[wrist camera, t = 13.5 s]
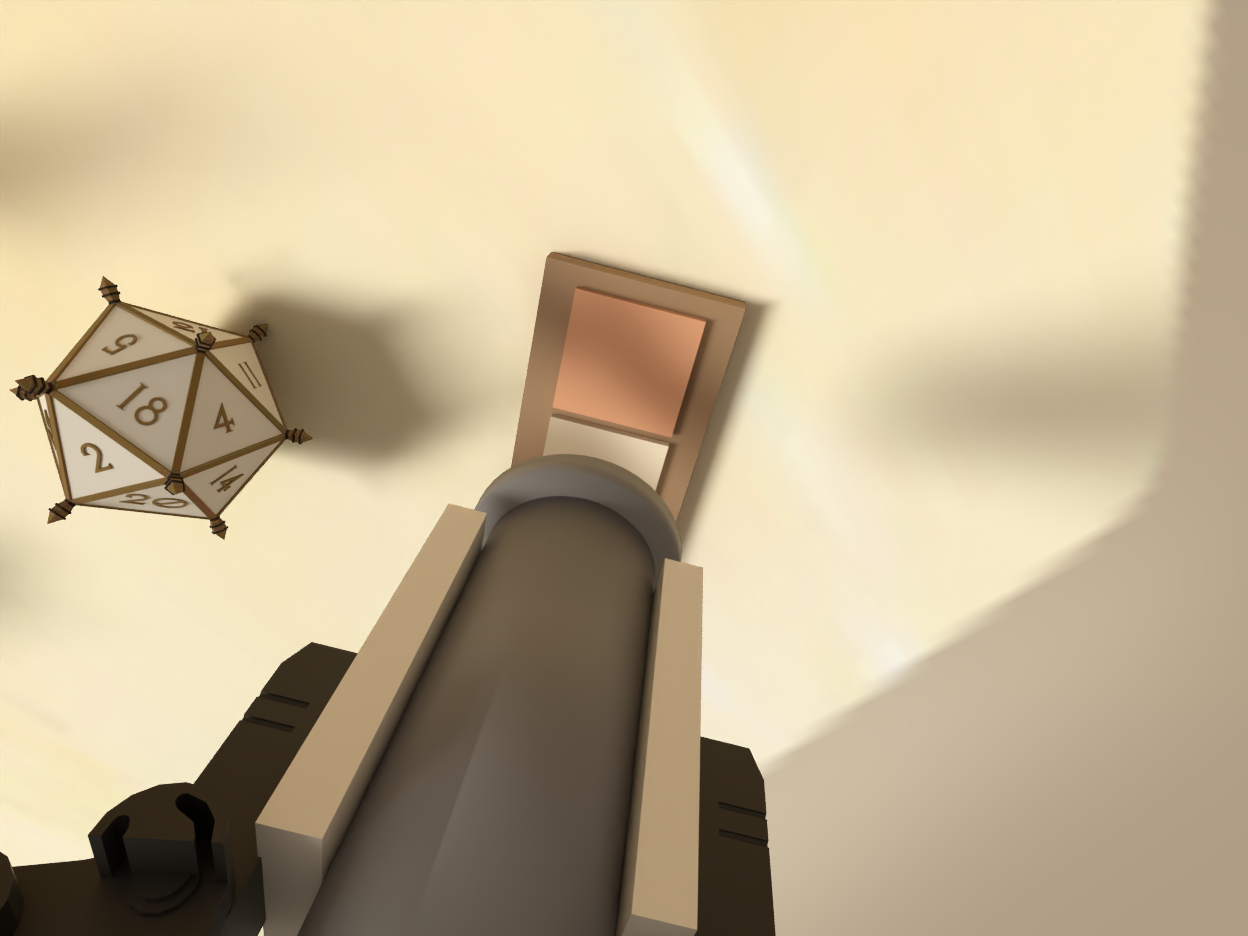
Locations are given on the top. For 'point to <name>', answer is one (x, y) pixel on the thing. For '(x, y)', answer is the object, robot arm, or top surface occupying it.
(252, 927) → the robot arm
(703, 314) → the track
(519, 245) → the top surface
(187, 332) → the game die
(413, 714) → the pawn
